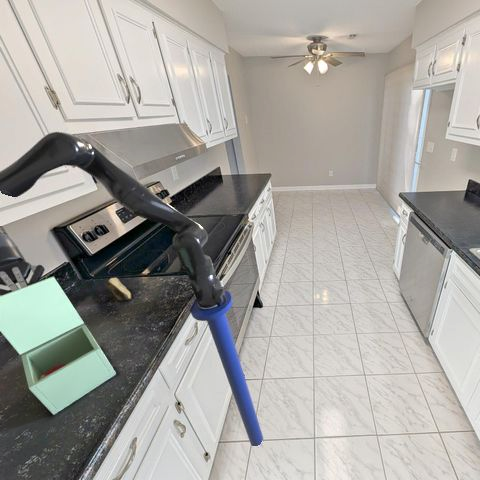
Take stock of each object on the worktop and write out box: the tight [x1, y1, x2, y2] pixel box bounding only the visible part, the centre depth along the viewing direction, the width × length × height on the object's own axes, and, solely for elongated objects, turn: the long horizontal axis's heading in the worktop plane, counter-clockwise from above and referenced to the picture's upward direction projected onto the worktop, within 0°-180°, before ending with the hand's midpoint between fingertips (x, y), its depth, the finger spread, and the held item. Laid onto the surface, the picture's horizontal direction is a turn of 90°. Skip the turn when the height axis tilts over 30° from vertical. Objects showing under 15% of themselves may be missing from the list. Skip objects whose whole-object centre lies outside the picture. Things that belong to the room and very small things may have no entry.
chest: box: [20, 323, 117, 416], centre depth 72 cm, size 16×14×11 cm
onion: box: [40, 364, 67, 380], centre depth 70 cm, size 6×6×8 cm
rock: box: [104, 276, 132, 301], centre depth 109 cm, size 11×9×10 cm
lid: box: [0, 275, 85, 356], centre depth 71 cm, size 17×14×1 cm
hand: (29, 303), depth 70 cm, fingers closed
